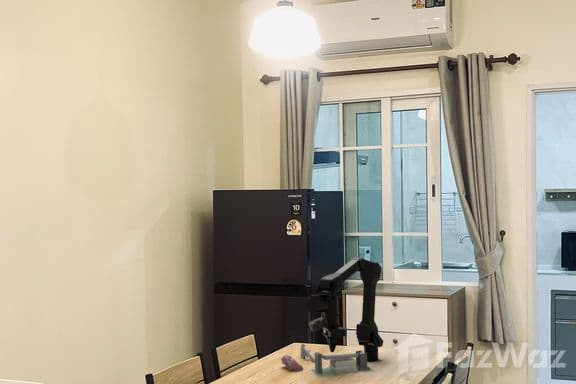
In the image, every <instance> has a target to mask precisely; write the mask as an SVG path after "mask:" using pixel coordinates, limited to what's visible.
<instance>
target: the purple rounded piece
mask: <svg viewBox="0 0 576 384" xmlns="http://www.w3.org/2000/svg"><path fill="white" fill-rule="evenodd" d="M280 361H281V364H282V365H284V366H285V367H286V368H287V369H289V371H296V372H301V371H304V367H303V365H301V364H299V363H298V362H297V361H296V359H295V358H293V356H292V355H287V354H285V355H284V356H282V357H281V358H280Z"/></svg>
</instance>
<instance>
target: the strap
mask: <svg viewBox="0 0 576 384" xmlns="http://www.w3.org/2000/svg"><path fill="white" fill-rule="evenodd" d="M360 353H361V352H359V353H356V352H355V353H343V354H342V353H341V354H329V355H324V354H323V355H324V358H322V360H324V361H328V360H329V361H330V359H342V358H353V359H355V358H356V357H360Z"/></svg>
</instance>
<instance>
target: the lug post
mask: <svg viewBox="0 0 576 384" xmlns="http://www.w3.org/2000/svg"><path fill="white" fill-rule="evenodd" d="M314 357H315V363H314V369H315V371H316V372H317V373H322V369H323V358H324V354H322V353H321V352H319V351H318V352H317V351H316V352H314Z"/></svg>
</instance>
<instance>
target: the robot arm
mask: <svg viewBox="0 0 576 384" xmlns="http://www.w3.org/2000/svg"><path fill="white" fill-rule="evenodd" d="M357 272H359V277H360V279H361V281H362V283H363V291H362V308H361V309H362V312H361V321H359V322H360V323H357V324H356V327H355V328H356V331H355V335H356V339H357V342H358V345H359V346H363V353H367V363H372V362H373V363H374V362H381V361H382V360H381V359H380V358H379V348H381V347H383V346H384V339H382V337H381V336H380V334H379V328H378V325H377V324H376V322H375V316H376V315H375V313H376V291H377V283H378V282H379V281H380V279H381V277H382V275H381V274H382V266H381V265H380V263H378V262H377V261H376V262H374V261H370V260H367V259H365V258H363V257H352V258H350V261H348V262H347V263H345V265H343V266H342V267H340V268H339V269H338V270H337V271H336V272H334V273H330V274H327V275H324V276H323V277H322V278H320V280H319V283H318V285H317V288H316V290H315V292H314V294H310V296H309V297H310V298H309V299H308V300H307V302H306V309H307V311H308V313H310V314H311V315H314V314H319V313H321V314H320V317H318V318H316V319H314V320H311V321H309V322H308V326H309V328H310V331H312V332H313V333H316V332H318V331H321V330H323V332H321V334H322V335H323V336H324V337H325V338H326V340H327V341H326V342H327V345H328V347H329V351H330V353H334V352H335V350H336V347H337V345H338V343H339V341H340V339H341V338H342V337H347V335H348V334H347V332H348V331H347V330H346V329H345V328H344V327H343V326H341V324H340V322H339V321H340V320H339V319H340V318H339V317H341V313H340V312H339V298H342V295H341V294H340V293H339V291H341V289H342V288H343V287H344V286H343V285H344V283H345V281H347V280H348V279H349V278H351V277H352V276H353V275H355V274H356V273H357Z"/></svg>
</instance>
